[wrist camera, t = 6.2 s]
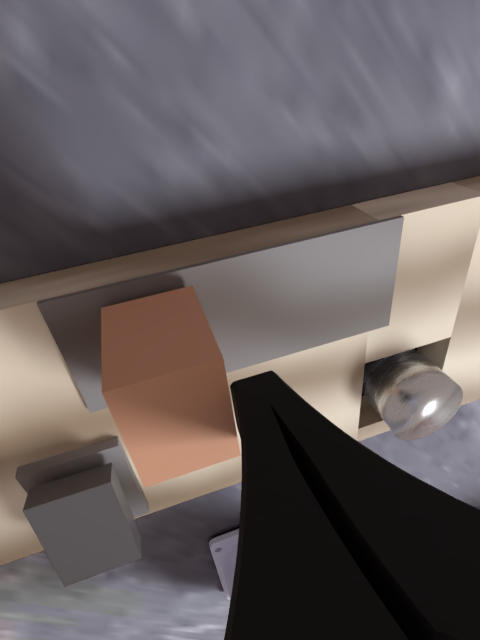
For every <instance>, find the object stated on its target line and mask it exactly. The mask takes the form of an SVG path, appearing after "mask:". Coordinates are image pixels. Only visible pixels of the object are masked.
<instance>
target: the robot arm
mask: <svg viewBox="0 0 480 640" xmlns="http://www.w3.org/2000/svg"><path fill="white" fill-rule="evenodd" d="M230 389H231V395H232V401H233V406H234V412H235V418H236V423H237V429H238V432H239V435H240V438H241V455H242V489H241V511H240V524H239V529H237V530H234V531H231V532H229V533H226V534H223V535H220V536H218V537H215V538H213V539H211V540H210V542H209V546H210V550H211V553H212V556H213V559H214V562H215V565H216V568H217V571H218V574H219V577H220V581H221V584H222V587H223V590H224V593H225V596H226V598H227V599H228V600H230V608H229V615H228V621H227V626H226V632H225V638H224V640H480V510H479V509H477V508H475V507H473V506H471V505H469V504H467V503H464V502H462V501H460V500H458V499H456V498H454V497H452V496H450V495H448V494H446V493H445V492H443V491H441V490H439V489H437V488H435V487H433V486H431V485H429V484H427V483H425V482H423V481H422V480H420V479H418V478H416V477H414V476H412V475H410V474H409V473H407V472H405V471H404V470H402V469H400V468H399V467H397V466H395V465H393V464H392V463H390V462H388V461H387V460H385V459H384V458H382V457H381V456H379V455H377V454H376V453H374V452H373V451H371V450H370V449H368V448H367V447H365V446H364V445H362V444H361V443H359V442H358V441H356V440H355V439H354V438H352V437H351V436H350V435H348V434H347V433H345V432H344V431H343V430H341V429H340V428H339V427H337V426H336V425H335V424H333V423H332V422H331V421H330V420H328V419H327V418H326V417H325V416H323V415H322V414H321V413H320V412H318V411H317V410H316V409H315V408H313V407H312V406H311V405H310V404H309V403H308V402H306V401H305V400H304V399H303V398H302V397H301V396H300V395H298V394H297V393H296V392H295V391H294V390H293V389H292V388H291V387H290V386H289V385H288V384H287V383H285V382H284V381H283V380H282V379H281V378H280V377H279V376H278V375H277V374H276V373H275V372H274V371H272V370H271V371H267V372H264V373H261V374H257V375H254V376H250V377H247V378H244V379H240V380H237V381H234V382H233V383H232V384H231V385H230Z"/></svg>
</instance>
